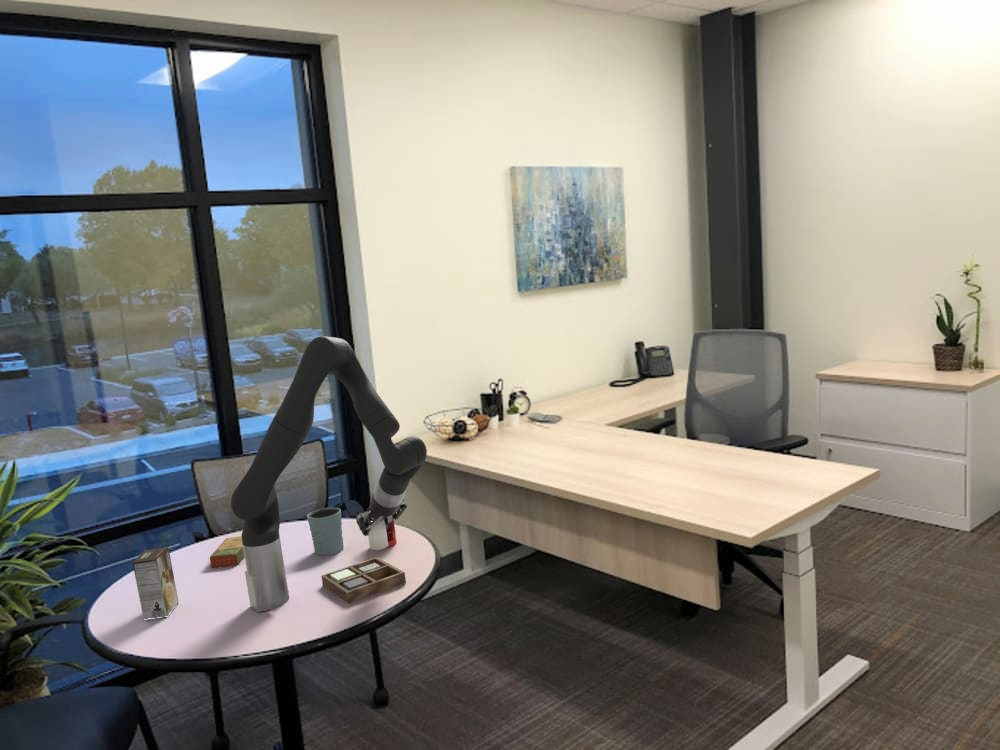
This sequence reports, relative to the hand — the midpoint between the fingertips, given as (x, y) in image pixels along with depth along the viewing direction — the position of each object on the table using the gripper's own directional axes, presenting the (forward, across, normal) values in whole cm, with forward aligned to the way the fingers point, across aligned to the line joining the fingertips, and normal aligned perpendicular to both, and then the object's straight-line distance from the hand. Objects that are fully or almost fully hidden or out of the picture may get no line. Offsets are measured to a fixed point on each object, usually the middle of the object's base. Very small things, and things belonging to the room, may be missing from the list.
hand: (373, 529), depth 211 cm
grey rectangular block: (+14, 0, +6) cm, 16 cm away
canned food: (+29, -14, -7) cm, 33 cm away
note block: (+14, +8, +6) cm, 17 cm away
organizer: (+12, +4, +9) cm, 16 cm away
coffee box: (+32, +49, -11) cm, 60 cm away
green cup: (+37, -1, -15) cm, 40 cm away
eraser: (+9, +8, +11) cm, 16 cm away
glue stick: (+2, 0, +4) cm, 5 cm away
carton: (+51, +22, -29) cm, 63 cm away
